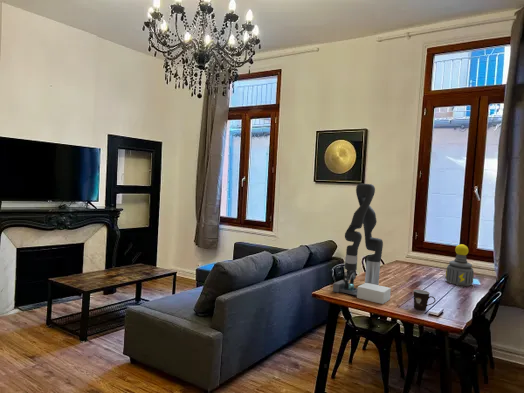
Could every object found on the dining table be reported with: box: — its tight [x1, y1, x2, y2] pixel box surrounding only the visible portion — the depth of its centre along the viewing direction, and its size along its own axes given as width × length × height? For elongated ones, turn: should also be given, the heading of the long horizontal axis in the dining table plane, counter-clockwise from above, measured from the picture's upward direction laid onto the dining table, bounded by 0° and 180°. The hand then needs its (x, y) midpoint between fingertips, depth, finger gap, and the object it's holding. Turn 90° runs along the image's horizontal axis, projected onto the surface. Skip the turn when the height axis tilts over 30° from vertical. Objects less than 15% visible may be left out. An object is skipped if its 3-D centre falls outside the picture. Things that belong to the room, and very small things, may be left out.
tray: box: [332, 279, 358, 297], centre depth 242 cm, size 14×18×5 cm
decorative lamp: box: [445, 243, 475, 287], centre depth 293 cm, size 19×19×30 cm
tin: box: [344, 282, 355, 291], centre depth 243 cm, size 6×6×4 cm
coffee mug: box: [413, 289, 436, 312], centre depth 219 cm, size 12×9×10 cm
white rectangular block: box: [356, 282, 392, 305], centre depth 234 cm, size 14×16×7 cm
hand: (349, 287), depth 243 cm, fingers open, 8 cm apart
